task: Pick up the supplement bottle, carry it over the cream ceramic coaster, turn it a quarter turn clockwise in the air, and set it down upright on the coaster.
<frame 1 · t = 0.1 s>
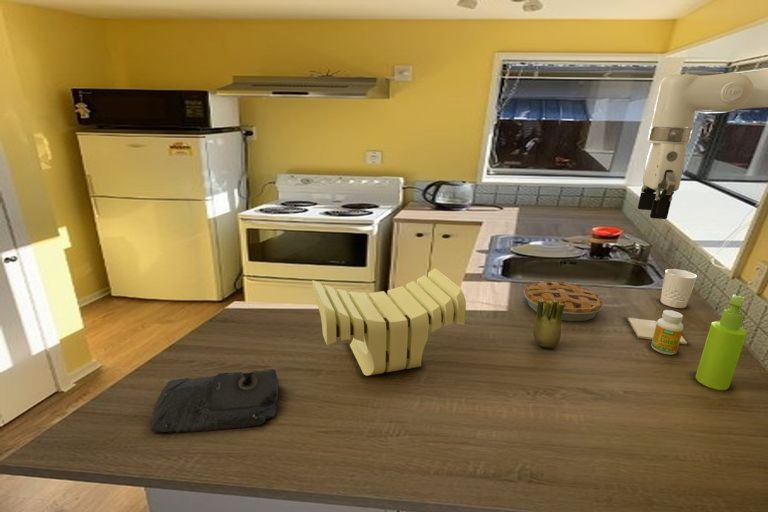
hand: (651, 213, 97), 33 cm above the worktop, tool pointing down, fingers open, 9 cm apart
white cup: (672, 304, 130), on the worktop
supplement bottle: (663, 350, 104), on the worktop
dark slate chunk: (219, 403, 81), on the worktop
pie: (560, 307, 126), on the worktop
soap dispenser: (711, 383, 91), on the worktop
coaster: (655, 331, 113), on the worktop
fennel bulb: (545, 345, 105), on the worktop
slatted curved stool: (385, 358, 97), on the worktop
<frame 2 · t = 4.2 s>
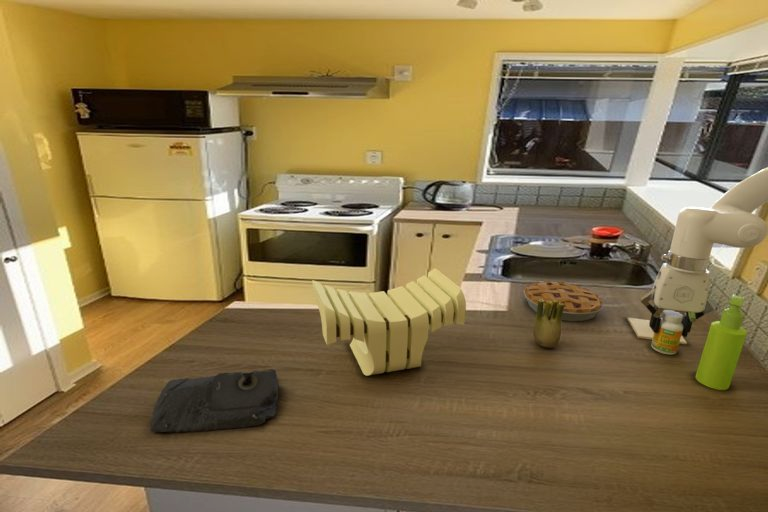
hand: (668, 331, 103), 5 cm above the worktop, tool pointing down, fingers closed on supplement bottle, 5 cm apart
supplement bottle: (663, 350, 104), on the worktop, touching gripper
everything else where it was.
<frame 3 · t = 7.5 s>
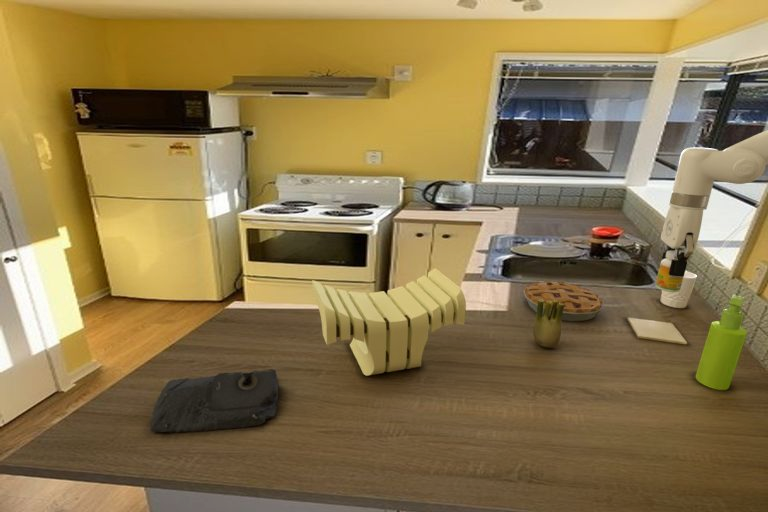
hand: (671, 270, 107), 17 cm above the worktop, tool pointing down, fingers closed on supplement bottle, 5 cm apart
supplement bottle: (667, 289, 109), point 12 cm above the worktop, touching gripper
everything else where it was.
when the fingers open (6 cm above the worktop, at t = 10.9 s): supplement bottle stays where it is, resting on coaster.
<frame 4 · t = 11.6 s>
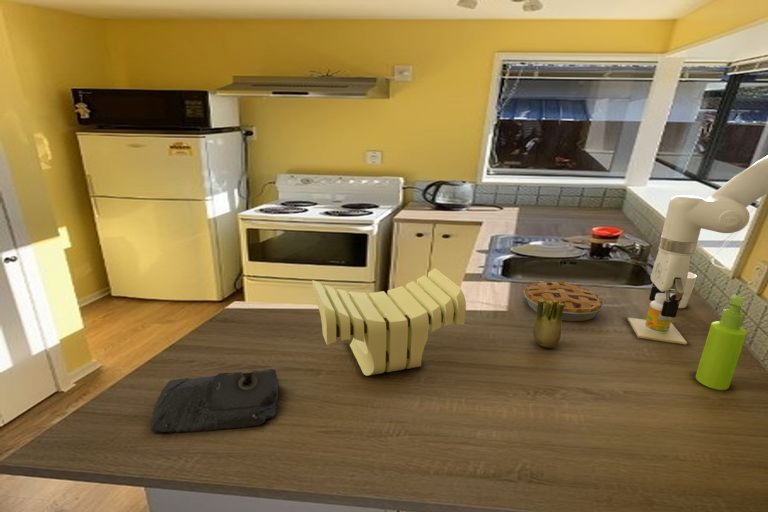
hand: (661, 308, 111), 7 cm above the worktop, tool pointing down, fingers open, 9 cm apart
supplement bottle: (656, 329, 113), resting on coaster
everything else where it was.
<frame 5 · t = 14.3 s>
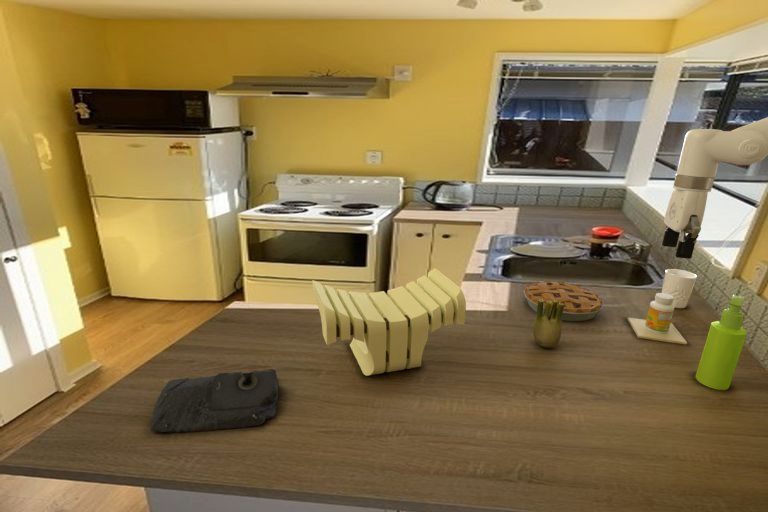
hand: (675, 251, 106), 22 cm above the worktop, tool pointing down, fingers open, 9 cm apart
nothing on the worktop moved.
at the end: supplement bottle inside the target area (0.1 cm from its centre), resting on coaster; supplement bottle tilted 0°; the gripper is holding nothing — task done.
